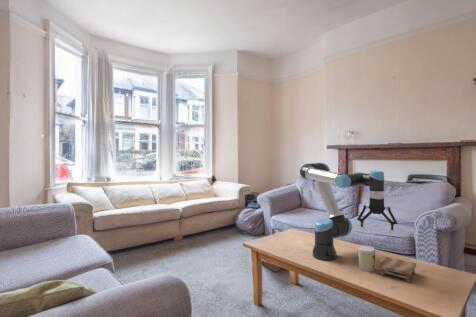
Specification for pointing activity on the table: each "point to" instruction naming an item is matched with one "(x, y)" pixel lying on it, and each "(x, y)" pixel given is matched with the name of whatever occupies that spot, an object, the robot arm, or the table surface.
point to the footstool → (397, 267)
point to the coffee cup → (366, 258)
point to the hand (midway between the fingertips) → (376, 234)
